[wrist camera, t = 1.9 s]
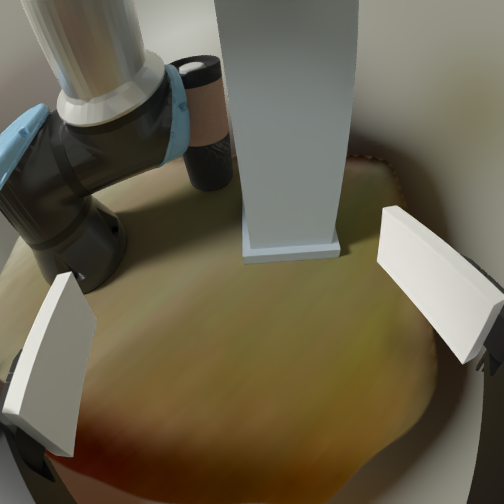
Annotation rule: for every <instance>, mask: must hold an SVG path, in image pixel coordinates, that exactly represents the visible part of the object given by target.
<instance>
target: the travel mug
mask: <svg viewBox="0 0 504 504" xmlns="http://www.w3.org/2000/svg"><path fill="white" fill-rule="evenodd" d="M169 65H173V66H174V67H175V68H176V69H177V71H178V73H179V75H180V77H181V79H182V82H183V86H184V89H185V93H186V99H187V105H186V106H187V108H188V111H189V117H190V142H189V146H188V148H187V150H186V152H185V153H184V154H183V158H184V162H185V165H186V168H187V172H188V175H189V178H190V181H191V184H192V185H193V186H194V187H195V188H197V189H200V190H205V191H209V190H216V189H219V188H221V187H223V186H225V185H226V184H228V183H229V182H230V180H231V178H232V175H233V171H232V159H231V148H230V135H229V126H228V118H227V111H226V103H225V97H224V96H225V95H224V88H223V81H222V73H221V65H220V59H219V58H218V57H216V56H211V55H210V56H209V55H201V56H193V57H188V58H183V59H180V60H177V61H174V62H172V63H170V64H169Z"/></svg>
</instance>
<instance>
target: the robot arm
mask: <svg viewBox="0 0 504 504" xmlns="http://www.w3.org/2000/svg"><path fill="white" fill-rule="evenodd" d="M20 1H21V4H22V6H23V8H24V11H25V13H26V15H27V17H28V20H29V22H30V24H31V26H32V29H33V31H34V33H35V35H36V38H37V40H38V42H39V44H40V46H41V48H42V50H43V52H44V54H45V56H46V58H47V60H48V62H49V64H50V66H51V68H52V70H53V72H54V74H55V76H56V78H57V80H58V82H59V84H60V85H61V87H62V90H61V92H60V94H59V97H58V101H57V110H55V111H53V112H50V109H49V107H47V106H46V105H45V104H39V105H37V106H35V107H33V108H31V109H29V110H28V111H26V112H25V113H24V114H23V115H21V116H20V117H19V118H18V119H16V120H15V121H14V122H13V123H12V124H11V125H10V126H9V127H8V128H7V129H6V130H5V131H4V132H3V133H2V134H1V135H0V211H1V212H2V214H3V215H4V216H5V218H6V219H7V220H8V221H9V223H11V225H12V226H13V227H14V229H15V230H16V231H17V232H18V233H19V235H20V236H21V237H22V238H23V239H24V241H25V242H26V243H27V244H28V245H29V246H30V248H31V249H32V251H33V253H34V256H35V258H36V260H37V263H38V265H39V268H40V270H41V272H42V274H43V277H44V278H45V280H46V281H47V283H48V284H49V285H50V286H51V288H50V290H49V292H48V294H47V296H46V298H45V300H44V302H43V304H42V306H41V308H40V311H39V313H38V315H37V317H36V319H35V322H34V324H33V326H32V328H31V331H30V333H29V335H28V338H27V340H26V343H25V345H24V348H23V349H21V350H20V352H19V353H18V354H17V356H16V357H15V359H14V360H13V363H12V365H11V368H10V371H9V372H10V374H8V376H7V379H6V383H5V385H4V388H3V391H2V395H1V398H0V504H77V503H76V501H75V500H74V499H73V497H72V495H71V494H70V492H69V491H68V490H67V488H66V486H65V485H64V483H63V482H62V480H61V478H60V477H59V475H58V474H57V472H56V470H55V468H54V466H53V465H52V463H51V461H50V460H49V459H48V457H47V456H45V455H44V454H45V448H46V449H47V450H49V451H50V452H52V453H53V454H55V455H58V456H67V457H73V453H74V443H75V434H76V426H77V419H78V412H79V406H80V400H81V394H82V388H83V383H84V378H85V373H86V368H87V363H88V359H89V354H90V350H91V345H92V341H93V337H94V333H95V329H96V325H97V322H98V321H97V319H96V317H95V315H94V314H93V312H92V310H91V308H90V306H89V304H88V303H87V301H86V299H85V297H84V295H83V294H84V293H87V292H89V291H91V290H93V289H95V288H96V287H98V286H99V285H101V284H102V283H103V282H104V281H105V280H106V279H108V278H109V276H110V275H111V274H112V273H113V272H114V271H115V269H116V268H117V266H118V265H119V263H120V261H121V259H122V257H123V255H124V252H125V248H126V243H127V236H126V231H125V229H124V227H123V225H122V223H121V222H120V220H119V218H118V217H117V216H116V214H115V213H113V212H112V211H111V210H110V209H108V208H107V207H106V206H105V205H103V204H102V203H101V202H99V201H98V200H97V199H96V198H94V197H93V196H92V195H91V194H93V193H95V192H97V191H99V190H102V189H104V188H106V187H109V186H111V185H114V184H116V183H118V182H121V181H123V180H126V179H128V178H131V177H133V176H136V175H139V174H141V173H144V172H146V171H149V170H152V169H154V168H159V167H161V166H163V165H164V164H165V163H167V162H169V161H171V160H174V159H176V158H179V157H180V156H182V155H183V154H184V153H185V152H186V150H187V148H188V146H189V142H190V117H189V111H188V108H187V106H186V105H187V99H186V93H185V89H184V86H183V82H182V79H181V77H180V75H179V73H178V71H177V69H176V68H175V67H174V66H173V65H169V64H168V65H164V63H163V61H162V59H161V58H160V57H159V56H158V55H157V54H156V53H154V52H152V51H149V50H145V49H144V44H143V40H142V35H141V31H140V27H139V22H138V17H137V13H136V7H135V2H134V0H20ZM377 262H378V263H379V264H380V265H381V266H382V267H383V268H384V270H385V271H386V272H387V273H388V274H389V275H390V276H391V277H392V278H393V280H394V281H395V282H396V283H397V284H398V285H399V286H400V288H401V289H402V290H403V291H404V292H405V293H406V294H407V296H408V297H409V298H410V299H411V300H412V301H413V303H414V304H415V305H416V306H417V307H418V309H419V310H420V311H421V312H422V313H423V315H424V316H425V317H426V318H427V319H428V321H429V322H430V323H431V324H432V326H433V327H434V328H435V329H436V331H437V332H438V333H439V334H440V335H441V337H442V338H443V339H444V341H445V342H446V343H447V345H448V346H449V347H450V348H451V350H452V351H453V352H454V353H455V355H456V356H457V358H458V359H459V360H460V361H461V363H462V364H464V363H466V362H467V361H469V360H471V359H472V358H474V357H475V356H476V355H477V354H478V352H479V350H480V349H481V347H482V345H484V346H485V347H486V349H487V350H486V352H485V353H484V355H483V357H482V358H481V360H480V361H479V363H478V365H477V367H476V371H478V370H479V369H480V367H481V366H482V364H483V363H484V368H483V369H482V372H484V395H483V412H482V423H481V432H480V440H479V446H478V453H477V459H476V465H475V470H474V475H473V480H472V484H471V488H470V492H469V496H468V500H467V504H504V289H503V288H502V287H501V286H500V285H499V284H498V283H497V282H496V281H495V280H494V279H493V278H492V277H491V276H489V275H487V273H486V272H485V271H484V270H483V269H481V268H480V267H479V266H478V265H477V264H476V263H475V262H474V261H473V260H471V259H469V258H467V257H465V256H463V255H461V254H459V253H457V252H456V251H455V250H454V249H453V248H451V247H450V246H449V245H448V244H447V243H445V242H444V241H443V240H442V239H440V238H439V237H438V236H437V235H435V234H434V233H433V232H432V231H430V230H429V229H427V228H426V227H425V226H424V225H423V224H421V223H420V222H419V221H417V220H416V219H415V218H413V217H412V216H411V215H409V214H408V213H406V212H405V211H404V210H402V209H401V208H400V207H398V206H397V205H396V206H391V207H385V208H383V212H382V223H381V233H380V242H379V250H378V258H377Z"/></svg>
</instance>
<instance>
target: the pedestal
mask: <svg viewBox="0 0 504 504" xmlns="http://www.w3.org/2000/svg"><path fill="white" fill-rule="evenodd" d="M214 3H215V10H216V16H217V23H218V30H219V37H220V43H221V50H222V57H223V63H224V71H225V78H226V84H227V92H228V98H229V105H230V112H231V119H232V126H233V132H234V139H235V146H236V152H237V160H238V166H239V173H240V180H241V187H242V238H243V261H244V264H253V263H267V262H281V261H295V260H309V259H322V258H335V257H339V254H340V250H341V249H340V245H339V241H338V237H337V233H336V229H335V222H336V217H337V211H338V205H339V199H340V193H341V187H342V181H343V174H344V168H345V161H346V153H347V146H348V138H349V130H350V122H351V121H350V120H351V113H352V102H353V93H354V81H355V69H356V54H357V36H358V9H359V0H214Z"/></svg>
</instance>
